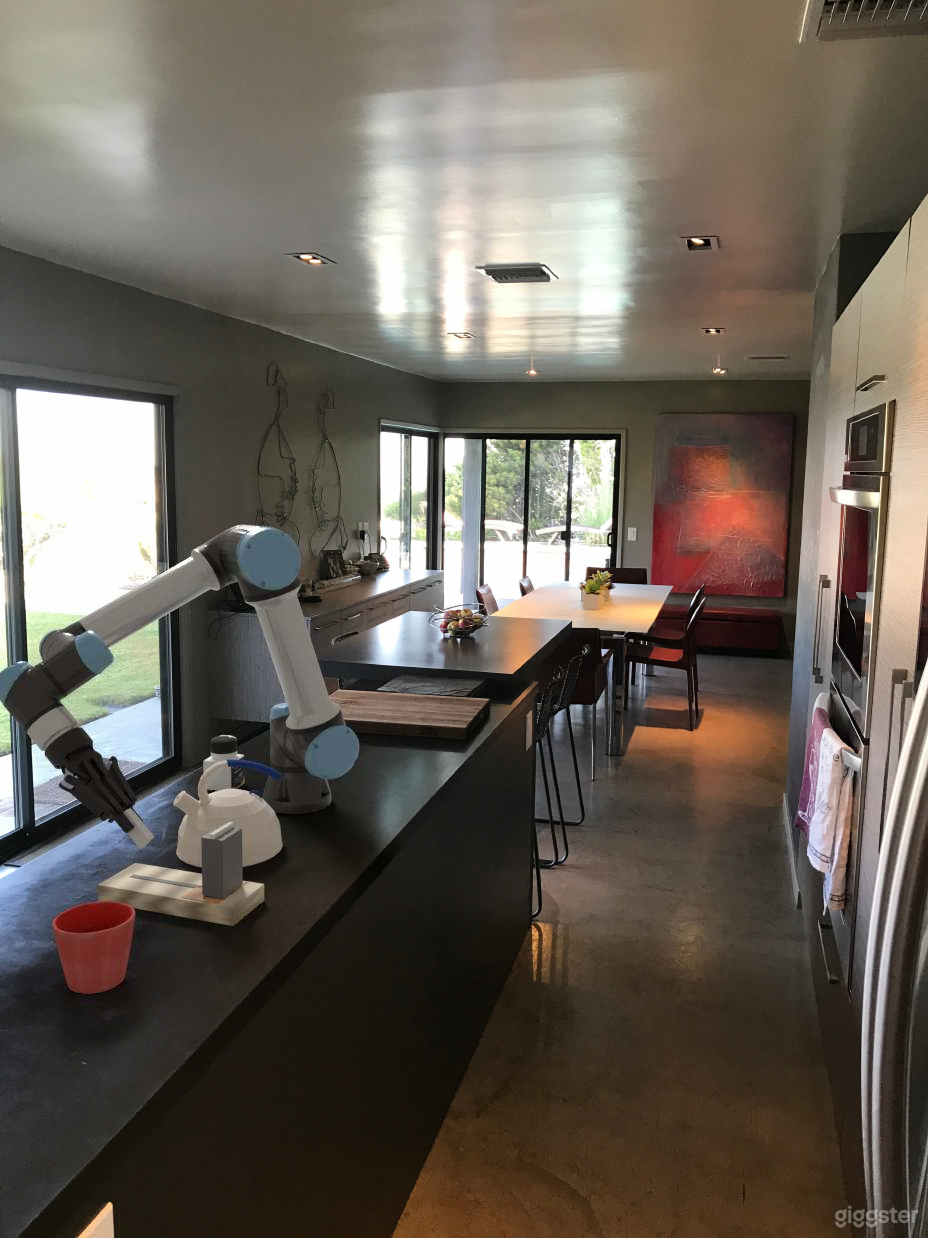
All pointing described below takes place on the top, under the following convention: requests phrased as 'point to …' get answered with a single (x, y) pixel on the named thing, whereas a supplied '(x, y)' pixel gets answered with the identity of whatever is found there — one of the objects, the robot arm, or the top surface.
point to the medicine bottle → (227, 776)
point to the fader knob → (222, 861)
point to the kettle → (229, 818)
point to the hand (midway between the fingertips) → (147, 842)
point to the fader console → (178, 894)
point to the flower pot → (94, 944)
